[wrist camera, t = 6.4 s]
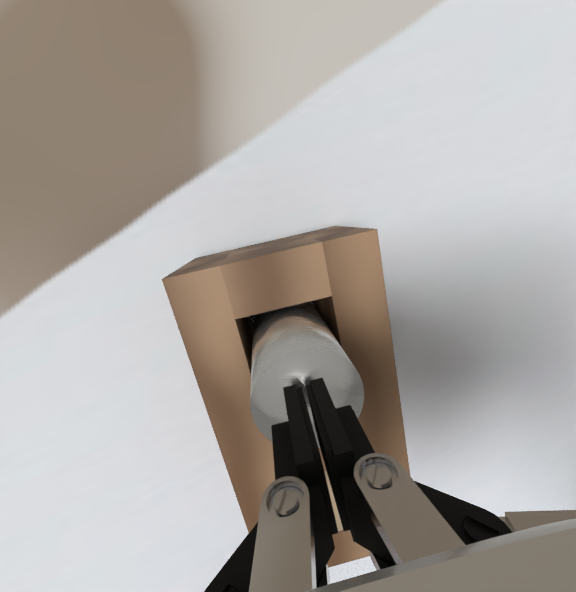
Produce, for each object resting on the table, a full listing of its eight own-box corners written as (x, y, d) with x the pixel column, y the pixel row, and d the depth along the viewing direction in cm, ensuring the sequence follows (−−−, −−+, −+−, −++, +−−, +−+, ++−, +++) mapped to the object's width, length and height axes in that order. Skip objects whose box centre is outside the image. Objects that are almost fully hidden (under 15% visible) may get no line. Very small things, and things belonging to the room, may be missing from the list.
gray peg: (314, 287, 21) (355, 335, 12) (326, 350, 22) (371, 434, 14) (245, 304, 21) (236, 365, 12) (262, 366, 22) (265, 462, 13)
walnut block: (335, 226, 25) (377, 229, 16) (374, 452, 31) (419, 541, 23) (195, 258, 24) (161, 279, 16) (263, 482, 31) (266, 584, 22)
